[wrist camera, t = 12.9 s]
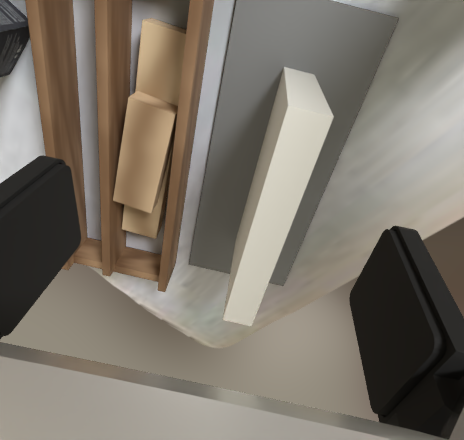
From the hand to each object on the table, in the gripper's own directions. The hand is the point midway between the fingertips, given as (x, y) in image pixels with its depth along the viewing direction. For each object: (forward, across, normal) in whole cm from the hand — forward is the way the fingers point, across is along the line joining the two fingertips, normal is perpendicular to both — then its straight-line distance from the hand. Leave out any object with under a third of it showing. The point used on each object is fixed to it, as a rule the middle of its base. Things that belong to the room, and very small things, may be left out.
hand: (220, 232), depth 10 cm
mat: (+27, -3, +11) cm, 29 cm away
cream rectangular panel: (+26, -3, +11) cm, 29 cm away
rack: (+27, +13, +10) cm, 31 cm away
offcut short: (+24, +10, +10) cm, 28 cm away
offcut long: (+27, +10, +10) cm, 31 cm away
